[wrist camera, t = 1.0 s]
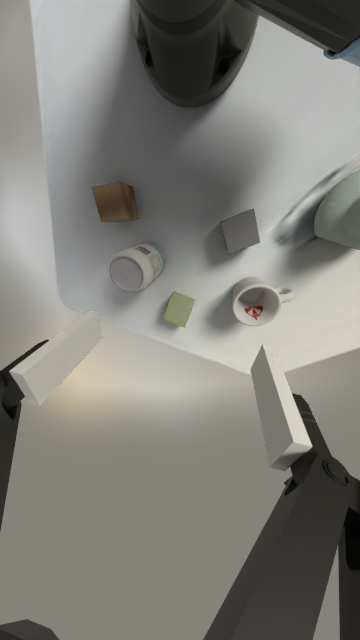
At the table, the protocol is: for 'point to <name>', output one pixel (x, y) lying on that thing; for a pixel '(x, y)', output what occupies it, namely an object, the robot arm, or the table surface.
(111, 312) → the table surface
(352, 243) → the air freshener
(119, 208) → the walnut block
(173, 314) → the olive block
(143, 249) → the beverage can
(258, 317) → the cup
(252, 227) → the charcoal block
